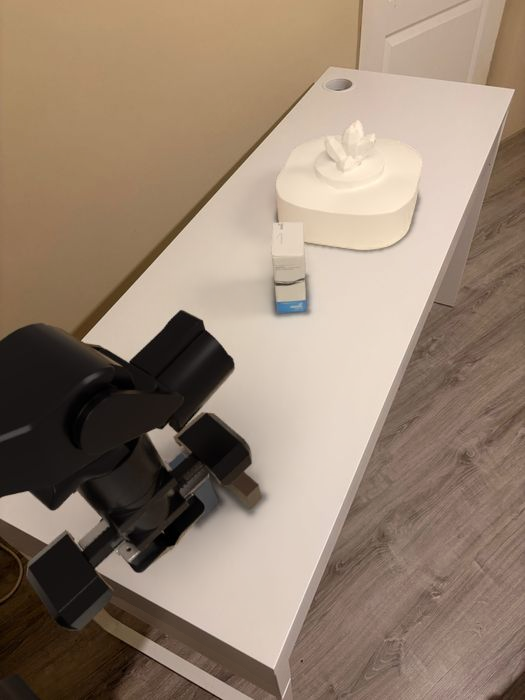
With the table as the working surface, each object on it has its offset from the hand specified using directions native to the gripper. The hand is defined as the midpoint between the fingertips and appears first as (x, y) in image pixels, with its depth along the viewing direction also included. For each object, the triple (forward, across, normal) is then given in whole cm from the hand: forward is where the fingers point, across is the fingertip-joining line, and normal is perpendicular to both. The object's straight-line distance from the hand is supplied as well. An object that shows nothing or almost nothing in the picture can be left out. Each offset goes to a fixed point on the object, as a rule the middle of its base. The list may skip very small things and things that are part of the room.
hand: (171, 542), depth 46 cm
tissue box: (+12, -65, -30) cm, 73 cm away
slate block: (+8, -6, -7) cm, 12 cm away
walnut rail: (+12, -11, -7) cm, 17 cm away
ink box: (+12, -40, -22) cm, 47 cm away
